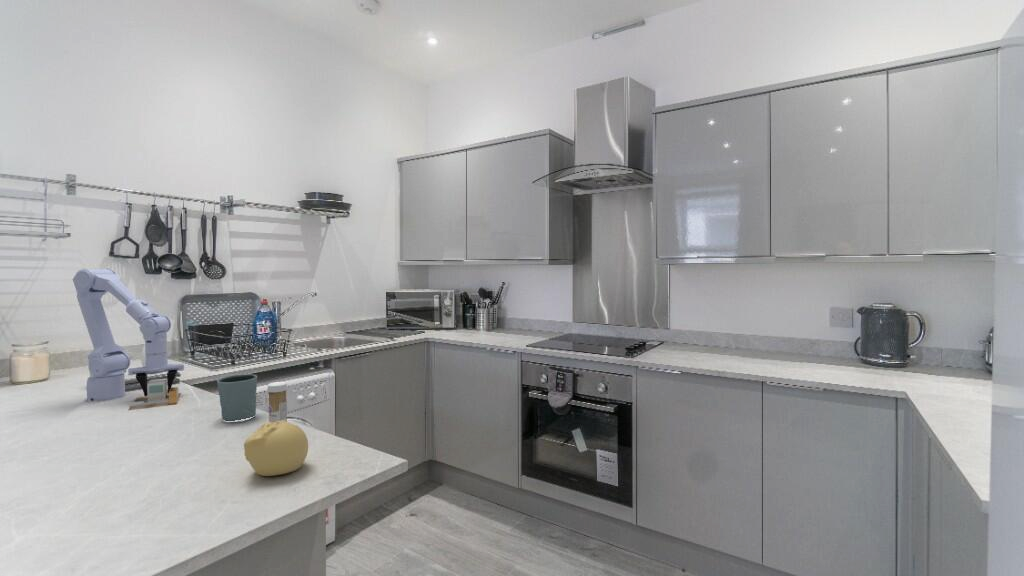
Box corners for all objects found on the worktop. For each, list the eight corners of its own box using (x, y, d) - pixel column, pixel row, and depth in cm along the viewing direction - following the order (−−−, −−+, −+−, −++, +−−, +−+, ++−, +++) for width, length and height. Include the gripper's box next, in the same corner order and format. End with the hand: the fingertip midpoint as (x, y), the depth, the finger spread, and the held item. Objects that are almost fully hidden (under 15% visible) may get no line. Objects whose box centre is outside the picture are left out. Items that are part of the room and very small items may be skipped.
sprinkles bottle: (264, 434, 125) (263, 384, 125) (279, 429, 130) (277, 380, 129) (277, 437, 124) (276, 386, 123) (291, 431, 128) (290, 382, 127)
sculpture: (265, 459, 109) (264, 413, 109) (317, 460, 109) (316, 413, 108) (235, 482, 98) (233, 430, 97) (292, 482, 97) (291, 431, 97)
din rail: (128, 409, 143) (128, 396, 143) (132, 404, 148) (131, 391, 148) (176, 403, 149) (176, 390, 149) (178, 399, 154) (178, 386, 154)
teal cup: (265, 415, 142) (264, 375, 141) (233, 425, 133) (232, 383, 132) (243, 411, 146) (242, 372, 145) (210, 421, 137) (209, 379, 136)
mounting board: (128, 415, 142) (127, 410, 142) (137, 402, 156) (136, 397, 156) (176, 409, 148) (176, 404, 148) (181, 397, 162) (181, 392, 162)
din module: (147, 401, 151) (147, 384, 151) (150, 396, 157) (150, 380, 157) (165, 399, 154) (164, 382, 153) (167, 394, 160) (167, 378, 160)
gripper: (125, 357, 148) (127, 400, 148) (182, 353, 155) (183, 394, 156) (129, 353, 154) (131, 395, 154) (184, 349, 161) (185, 389, 162)
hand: (157, 394), depth 156 cm, fingers open, 5 cm apart
